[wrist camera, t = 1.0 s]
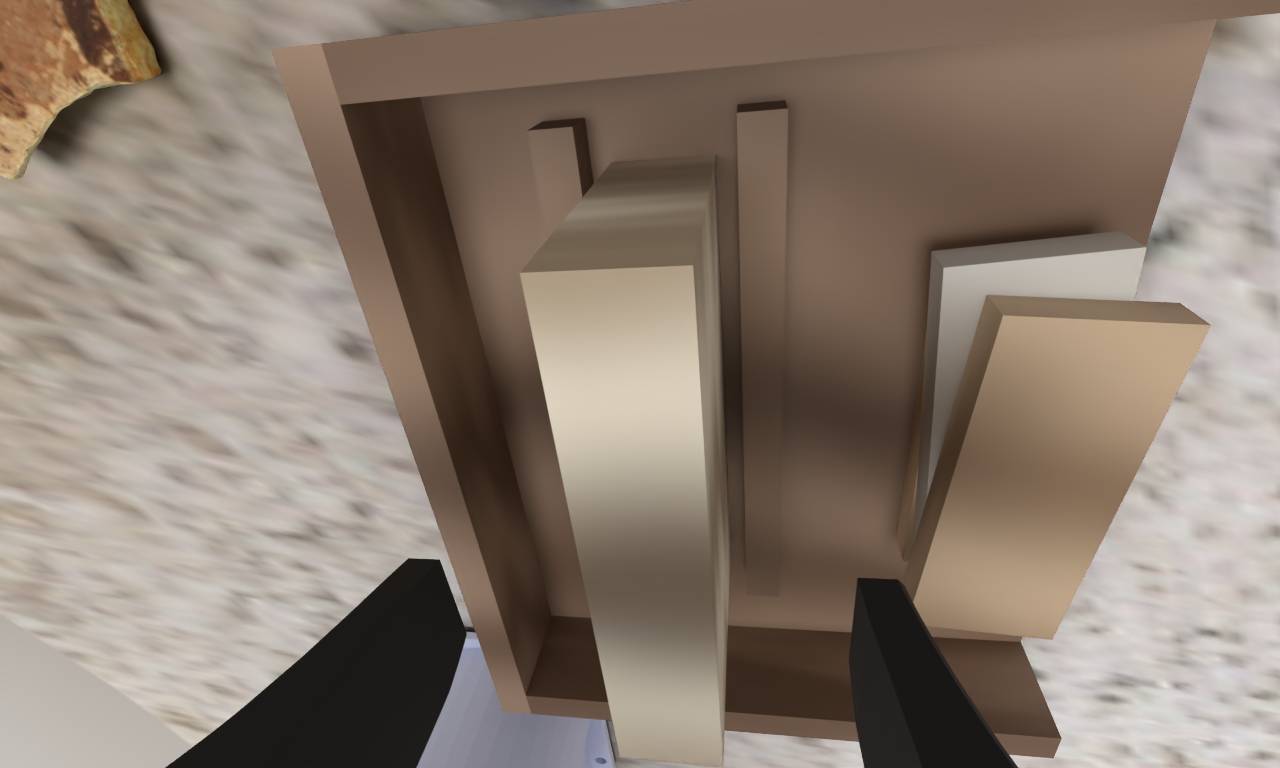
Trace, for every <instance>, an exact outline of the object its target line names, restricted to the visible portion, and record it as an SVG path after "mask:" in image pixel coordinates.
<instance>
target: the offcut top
mask: <svg viewBox="0 0 1280 768" xmlns="http://www.w3.org/2000/svg"><path fill="white" fill-rule="evenodd" d="M1210 326H1211V325H1210V324H1209V323H1207V322H1206V321H1204V320H1203V319H1202V318H1200V317H1199V316H1197V315H1196V314H1195V313H1193V312H1192V311H1190V310H1189V309H1187V308H1186V307H1185V306H1183V305H1182V304H1180V303H1166V302H1143V301H1120V300H1097V299H1074V298H1050V297H1027V296H1004V295H986V299H985V302H984V305H983V309H982V312H981V316H980V319H979V322H978V326H977V329H976V333H975V336H974V340H973V343H972V346H971V350H970V353H969V357H968V360H967V363H966V367H965V370H964V374H963V377H962V381H961V384H960V387H959V391H958V394H957V398H956V401H955V404H954V408H953V411H952V415H951V418H950V421H949V425H948V428H947V432H946V435H945V439H944V442H943V445H942V449H941V452H940V456H939V459H938V462H937V466H936V469H935V473H934V476H933V480H932V483H931V486H930V490H929V493H928V497H927V500H926V503H925V507H924V510H923V514H922V517H921V521H920V524H919V527H918V531H917V534H916V538H915V541H914V544H913V548H912V551H911V555H910V558H909V561H908V565H907V568H906V572H905V575H904V579H903V582H902V583H903V584H904V585H905V587H906V590H907V592H908V594H909V596H910V598H911V599H912V601H913V603H914V605H915V607H916V609H917V611H918V613H919V615H920V616H921V618H922V620H923V622H924V624H925V625H926V626H931V627H940V628H949V629H958V630H968V631H977V632H986V633H995V634H1004V635H1013V636H1023V637H1032V638H1041V639H1050V640H1052V639H1053V637H1054V635H1055V633H1056V631H1057V629H1058V627H1059V625H1060V623H1061V621H1062V619H1063V617H1064V615H1065V613H1066V611H1067V609H1068V607H1069V605H1070V603H1071V601H1072V599H1073V597H1074V595H1075V593H1076V591H1077V590H1078V588H1079V586H1080V584H1081V582H1082V580H1083V578H1084V576H1085V574H1086V572H1087V570H1088V568H1089V566H1090V564H1091V562H1092V560H1093V558H1094V556H1095V554H1096V552H1097V550H1098V548H1099V546H1100V544H1101V542H1102V540H1103V538H1104V536H1105V534H1106V532H1107V530H1108V528H1109V526H1110V524H1111V522H1112V520H1113V518H1114V516H1115V514H1116V512H1117V510H1118V508H1119V506H1120V504H1121V502H1122V500H1123V498H1124V496H1125V495H1126V493H1127V491H1128V489H1129V487H1130V485H1131V483H1132V481H1133V479H1134V477H1135V475H1136V473H1137V471H1138V469H1139V467H1140V465H1141V463H1142V461H1143V459H1144V457H1145V455H1146V453H1147V451H1148V449H1149V447H1150V445H1151V443H1152V441H1153V439H1154V437H1155V435H1156V433H1157V431H1158V429H1159V427H1160V425H1161V423H1162V421H1163V419H1164V417H1165V415H1166V413H1167V411H1168V409H1169V407H1170V405H1171V403H1172V401H1173V399H1174V398H1175V396H1176V394H1177V392H1178V390H1179V388H1180V386H1181V384H1182V382H1183V380H1184V378H1185V376H1186V374H1187V372H1188V370H1189V368H1190V366H1191V364H1192V362H1193V360H1194V358H1195V356H1196V354H1197V352H1198V350H1199V348H1200V346H1201V344H1202V342H1203V340H1204V338H1205V336H1206V334H1207V332H1208V330H1209V328H1210Z"/></svg>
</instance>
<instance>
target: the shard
mask: <svg viewBox="0 0 1280 768" xmlns="http://www.w3.org/2000/svg"><path fill="white" fill-rule="evenodd" d="M161 72H162V71H161V68H160V66H159V64H158V62H157V60H156V56H155V51H154V48H153V46H152V44H151V42H150V41H149V39H148V38H147V36H146V35H145V33H144V32H143V30H142V28H141V26H140V24H139V22H138V20H137V17H136V15H135V13H134V11H133V10H132V8H131V6H130V5H129V3H128V0H0V175H1V176H3V177H6V178H8V179H10V180H12V179H18V178H21V177H22V176H23V174H24V173H25V170H26V168H27V164H28V163H29V160H30V158H31V155H32V152H33V151H34V149H35V148H36V147H37V146H38V144H39V143H40V142H41V140H42V139H43V137H44V134H45V132H46V131H47V129H48V127H49V126H50V124H51V123H52V122H53V121H54V120H55V119H56V116H57V114H58V113H59V112H60V111H61V110H62V109H63V108H65V107H67V106H69V105H71V104H72V103H73V102H74V101H76V100H77V99H81V98H83V97H86V96H88V95H90V94H91V93H92V92H93V91H94V89H99V88H107V87H110V86H116V85H120V84H136V83H139V82H142V81H146V80H148V79H151V78H154V77H156V76H159V74H160V73H161Z"/></svg>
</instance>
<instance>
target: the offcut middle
mask: <svg viewBox="0 0 1280 768" xmlns="http://www.w3.org/2000/svg"><path fill="white" fill-rule="evenodd" d="M1146 248H1147V247H1146V246H1144V245H1142V244H1141V243H1139V242H1138V241H1136V240H1134V239H1133V238H1131V237H1130V236H1128V235H1126V234H1125V233H1123V232H1122V231H1115V232H1106V233H1096V234H1087V235H1078V236H1068V237H1059V238H1050V239H1040V240H1031V241H1022V242H1012V243H1003V244H993V245H984V246H975V247H965V248H956V249H947V250H937V251H932V252H931V269H930V285H929V301H928V317H927V333H926V349H925V365H924V381H923V397H922V413H921V430H920V446H919V462H918V478H917V494H916V510H915V526H914V541H915V538H916V534H917V531H918V527H919V524H920V521H921V517H922V514H923V510H924V507H925V503H926V500H927V497H928V493H929V490H930V486H931V483H932V480H933V476H934V473H935V469H936V466H937V462H938V459H939V456H940V452H941V449H942V445H943V442H944V439H945V435H946V432H947V428H948V425H949V421H950V418H951V415H952V411H953V408H954V404H955V401H956V398H957V394H958V391H959V387H960V384H961V381H962V377H963V374H964V370H965V367H966V363H967V360H968V357H969V353H970V350H971V346H972V343H973V340H974V336H975V333H976V329H977V326H978V322H979V319H980V316H981V312H982V309H983V305H984V302H985V299H986V295H1004V296H1027V297H1050V298H1074V299H1097V300H1120V301H1134V299H1135V295H1136V291H1137V287H1138V282H1139V278H1140V274H1141V270H1142V265H1143V261H1144V257H1145V253H1146ZM913 544H914V542H913Z"/></svg>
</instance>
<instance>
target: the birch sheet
mask: <svg viewBox="0 0 1280 768" xmlns="http://www.w3.org/2000/svg"><path fill="white" fill-rule="evenodd" d="M520 277H521V282H522V287H523V292H524V297H525V302H526V306H527V311H528V316H529V321H530V326H531V331H532V335H533V340H534V345H535V350H536V355H537V359H538V364H539V369H540V374H541V379H542V384H543V388H544V393H545V398H546V403H547V408H548V413H549V417H550V422H551V427H552V432H553V437H554V442H555V446H556V451H557V456H558V461H559V466H560V471H561V475H562V480H563V485H564V490H565V495H566V500H567V504H568V509H569V514H570V519H571V524H572V529H573V533H574V538H575V543H576V548H577V553H578V558H579V562H580V567H581V572H582V577H583V582H584V587H585V591H586V596H587V601H588V606H589V611H590V616H591V620H592V625H593V630H594V635H595V640H596V645H597V649H598V654H599V659H600V664H601V669H602V674H603V678H604V683H605V688H606V693H607V698H608V703H609V707H610V712H611V717H612V722H613V727H614V732H615V736H616V741H617V746H618V751H619V756H620V757H621V758H631V759H642V760H652V761H663V762H673V763H684V764H694V765H705V766H715V767H723V754H724V724H725V694H726V664H727V633H728V603H729V573H730V516H729V489H728V462H727V435H726V408H725V381H724V354H723V327H722V299H721V272H720V245H719V218H718V191H717V164H716V154H714V155H700V156H687V157H673V158H660V159H646V160H633V161H619V162H612V163H611V164H610V165H609V166H608V167H607V169H606V170H605V171H604V172H603V173H602V175H601V176H600V177H599V178H598V179H597V181H596V182H595V183H594V184H593V185H592V187H591V188H590V189H589V190H588V191H587V193H586V194H585V195H584V196H583V197H582V199H581V200H580V201H579V202H578V203H577V205H576V206H575V207H574V208H573V209H572V211H571V212H570V213H569V214H568V215H567V217H566V218H565V219H564V220H563V221H562V223H561V224H560V225H559V226H558V227H557V229H556V230H555V231H554V232H553V233H552V235H551V236H550V237H549V238H548V239H547V241H546V242H545V243H544V244H543V245H542V247H541V248H540V249H539V250H538V251H537V253H536V254H535V255H534V256H533V257H532V259H531V260H530V261H529V262H528V263H527V265H526V266H525V267H524V268H523V269H522V271H521V272H520Z"/></svg>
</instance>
